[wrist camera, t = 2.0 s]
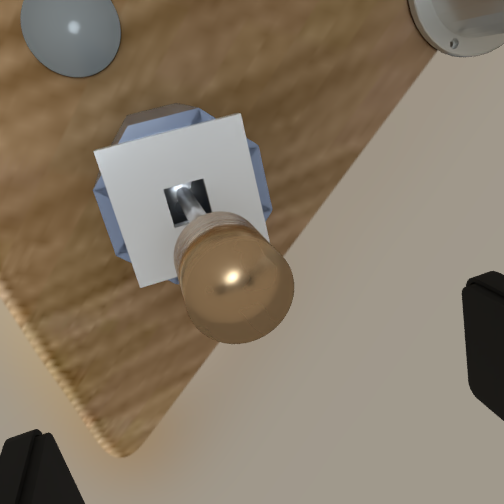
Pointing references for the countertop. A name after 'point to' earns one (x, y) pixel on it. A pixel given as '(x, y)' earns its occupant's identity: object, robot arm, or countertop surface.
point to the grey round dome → (72, 34)
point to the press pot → (174, 181)
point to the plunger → (227, 270)
